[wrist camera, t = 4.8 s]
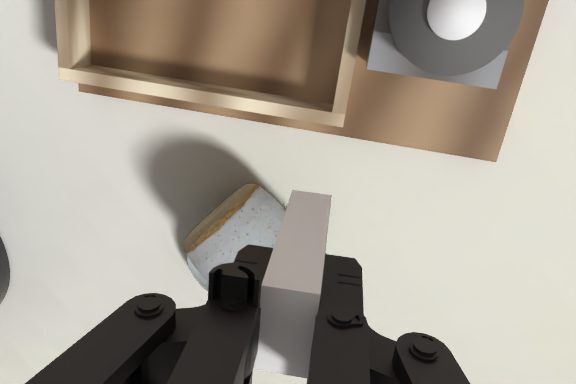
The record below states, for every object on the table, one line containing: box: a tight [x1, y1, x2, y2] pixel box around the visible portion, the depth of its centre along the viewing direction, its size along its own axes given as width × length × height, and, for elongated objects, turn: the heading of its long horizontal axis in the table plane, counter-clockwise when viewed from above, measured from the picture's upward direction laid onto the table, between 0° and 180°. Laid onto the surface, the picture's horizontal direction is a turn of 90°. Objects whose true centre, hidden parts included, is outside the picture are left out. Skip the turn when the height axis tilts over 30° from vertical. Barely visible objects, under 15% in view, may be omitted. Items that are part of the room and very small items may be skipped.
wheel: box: [388, 0, 524, 76], centre depth 24 cm, size 6×6×6 cm
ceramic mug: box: [184, 184, 326, 291], centre depth 33 cm, size 11×8×8 cm
